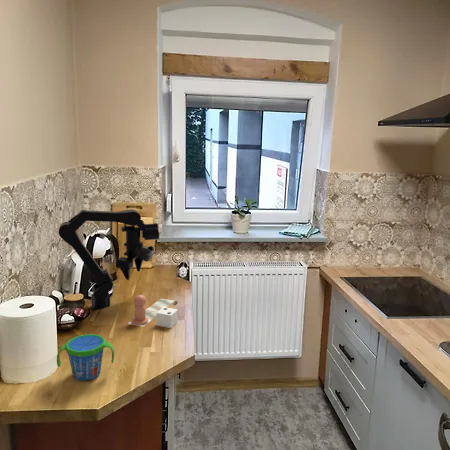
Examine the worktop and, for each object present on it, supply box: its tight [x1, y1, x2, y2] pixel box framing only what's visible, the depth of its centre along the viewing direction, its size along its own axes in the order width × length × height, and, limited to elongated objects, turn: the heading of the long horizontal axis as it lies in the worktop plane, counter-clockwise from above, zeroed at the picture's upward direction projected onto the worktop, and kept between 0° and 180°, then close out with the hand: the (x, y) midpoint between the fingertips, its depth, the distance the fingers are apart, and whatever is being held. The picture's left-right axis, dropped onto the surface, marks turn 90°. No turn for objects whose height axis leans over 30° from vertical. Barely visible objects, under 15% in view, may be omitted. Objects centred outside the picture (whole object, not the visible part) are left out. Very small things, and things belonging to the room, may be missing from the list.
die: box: [155, 307, 179, 329], centre depth 146 cm, size 6×6×6 cm
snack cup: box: [56, 333, 115, 382], centre depth 112 cm, size 16×10×10 cm
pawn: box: [131, 294, 149, 326], centre depth 145 cm, size 6×6×10 cm
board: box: [127, 297, 178, 328], centre depth 156 cm, size 28×9×1 cm, turn 163°
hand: (133, 275), depth 164 cm, fingers open, 9 cm apart
